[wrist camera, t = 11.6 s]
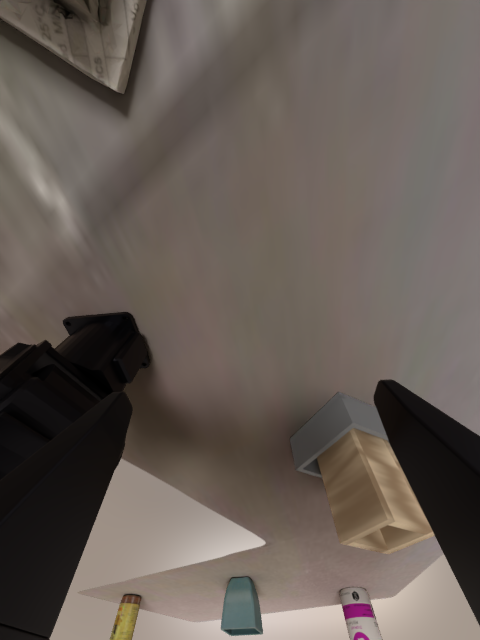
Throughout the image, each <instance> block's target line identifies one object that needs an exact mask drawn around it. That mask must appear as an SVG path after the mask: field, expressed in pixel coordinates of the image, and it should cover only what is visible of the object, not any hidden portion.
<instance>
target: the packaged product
mask: <svg viewBox="0 0 480 640" xmlns="http://www.w3.org/2000/svg"><path fill="white" fill-rule="evenodd" d="M146 2H147V0H0V18H1V19H2V20H4V21H5V22H7V23H8V24H10V25H12V26H13V27H15V28H16V29H18V30H19V31H21V32H22V33H24V34H25V35H27V36H28V37H30V38H31V39H33V40H34V41H36V42H37V43H39V44H40V45H42V46H43V47H45V48H46V49H48V50H49V51H51V52H52V53H54V54H55V55H57V56H58V57H60V58H62V59H63V60H65V61H66V62H68V63H69V64H71V65H72V66H74V67H75V68H77V69H78V70H80V71H81V72H83V73H84V74H86V75H87V76H89V77H90V78H92V79H94V80H96V81H98V82H99V83H101V84H103V85H105V86H107V87H109V88H111V89H113V90H114V91H116V92H119V93H122V94H124V92H125V89H126V86H127V83H128V78H129V74H130V70H131V65H132V61H133V57H134V53H135V48H136V44H137V40H138V36H139V31H140V27H141V22H142V17H143V14H144V10H145V6H146Z"/></svg>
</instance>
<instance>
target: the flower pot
mask: <svg viewBox="0 0 480 640" xmlns="http://www.w3.org/2000/svg"><path fill="white" fill-rule="evenodd" d="M221 630H223V631H224V632H226V633H227V634H229V635H231V636H238V635H257V634H263V629H262V620H261V612H260V605H259V600H258V596H257V592H256V589H255V586H254V584H253V582H252V581H251V579H250V578H249V577H242V578H232V579H231V580H230V583H229V585H228V587H227V590H226V594H225V598H224V605H223V613H222V622H221Z"/></svg>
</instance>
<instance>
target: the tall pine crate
mask: <svg viewBox="0 0 480 640" xmlns="http://www.w3.org/2000/svg"><path fill="white" fill-rule="evenodd" d="M317 460H318V464H319V467H320V471H321V475H322V479H323V482H324V486H325V490H326V493H327V497H328V501H329V505H330V508H331V512H332V516H333V519H334V523H335V527H336V531H337V534H338V538H339V542H340V544H345V545H349V546H354V547H358V548H363V549H367V550H371V551H376V552H380V553H385V554H390V553H393V552H395V551H398V550H400V549H403V548H405V547H408V546H410V545H413V544H415V543H418V542H420V541H422V540H425V539H427V538H430V537H432V536H435V535H434V533H433V531H432V529H431V527H430V525H429V523H428V521H427V519H426V517H425V515H424V513H423V510H422V508H421V506H420V504H419V502H418V500H417V498H416V496H415V494H414V492H413V490H412V488H411V486H410V484H409V482H408V480H407V478H406V476H405V474H404V472H403V470H402V468H401V466H400V464H399V462H398V460H397V458H396V456H395V454H394V452H393V450H392V448H391V446H390V444H389V442H388V441H387V440H385V439H382V438H380V437H377V436H374V435H372V434H369V433H366V432H364V431H361V430H358V429H355V428H353V429H351V430H350V431H349V432H348V433H346V434H345V435H344V436H343V437H341V438H340V439H339V440H338V441H337V442H335V443H334V444H333V445H332V446H330V447H329V448H328V449H327V450H325V451H324V452H323V453H322V454H321V455H319V456H318V457H317Z"/></svg>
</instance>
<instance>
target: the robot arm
mask: <svg viewBox="0 0 480 640" xmlns="http://www.w3.org/2000/svg"><path fill="white" fill-rule="evenodd" d="M124 316H125V317H127V318H128V319H126V318H125V317H124ZM69 322H70V323H69ZM63 325H64V326H65V328H66V330H67V331H68V333H69V335H70V336H68V337H67V338H66V339H65V340H64V341H63V342H62V343H60V344H59V345H58V346H57V347H56V348H55V349H54V348H53V347H51V346H52V345H51V344H50V343H49V342H48V341H47V340H44V341H42V342H41V343H39V344H37V345H35V344H34V345H27V344H22V343H17V344H16V345H14V346H12V347H11V348H9V349H8V350H7V351H5V352H4V353H2V354H1V355H0V640H49V638H50V636H51V634H52V632H53V629H54V626H55V624H56V621H57V619H58V616H59V613H60V610H61V608H62V606H63V603H64V600H65V598H66V595H67V593H68V590H69V587H70V585H71V582H72V580H73V577H74V574H75V572H76V569H77V566H78V564H79V561H80V558H81V556H82V553H83V551H84V548H85V546H86V543H87V540H88V538H89V535H90V532H91V530H92V527H93V525H94V522H95V520H96V517H97V514H98V511H99V509H100V507H101V504H102V501H103V499H104V496H105V494H106V491H107V488H108V486H109V483H110V481H111V478H112V475H113V473H114V470H115V469H116V467H117V465H118V464H119V461H120V459H121V457H122V453H123V450H124V447H125V438H126V433H127V429H128V426H129V422H130V419H131V415H132V405H131V403H130V401H129V398H128V396H127V394H126V393H125V392H123V389H124V388H125V386H126V384H127V383H131V382H132V380H133V379H134V377H135V375H136V373H137V371H138V370H139V368H147V367H148V366H149V364H150V360H149V358H148V355H147V354H148V352H147V350H146V347H145V345H144V342H143V340H142V337H141V334H140V333H139V332H138V330H137V327H136V325H135V322H134V320H133V317H132V315H131V314H130V313H128V312H119V313H108V314H97V315H86V316H75V317H67V318H66V319H64V320H63ZM143 362H144V363H143ZM145 363H146V364H145ZM374 403H375V406H376V408H377V411H378V414H379V416H380V419H381V422H382V424H383V427H384V430H385V432H386V435H387V438H388V440H389V443H390V445H391V448H392V450H393V452H394V454H395V456H396V458H397V460H398V462H399V464H400V466H401V468H402V470H403V472H404V474H405V476H406V478H407V480H408V482H409V484H410V486H411V488H412V490H413V492H414V494H415V496H416V498H417V500H418V502H419V504H420V506H421V508H422V510H423V513H424V515H425V517H426V519H427V521H428V523H429V525H430V527H431V529H432V531H433V533H434V535H435V537H436V539H437V541H438V543H439V545H440V547H441V549H442V551H443V553H444V555H445V557H446V559H447V561H448V563H449V565H450V567H451V569H452V571H453V573H454V575H455V577H456V579H457V581H458V583H459V585H460V587H461V589H462V591H463V593H464V595H465V597H466V599H467V601H468V603H469V605H470V607H471V609H472V611H473V613H474V615H475V617H476V619H477V621H478V623H479V625H480V436H479V435H477V434H476V433H474V432H472V431H471V430H469V429H468V428H466V427H465V426H463V425H462V424H460V423H459V422H457V421H456V420H454V419H453V418H451V417H449V416H448V415H446V414H445V413H443V412H442V411H440V410H439V409H437V408H436V407H434V406H433V405H431V404H430V403H428V402H426V401H425V400H423V399H422V398H420V397H419V396H417V395H416V394H414V393H413V392H411V391H410V390H408V389H407V388H405V387H404V386H402V385H400V384H399V383H397V382H396V381H394V380H380V381H379V382H378V384H377V387H376V391H375V394H374Z"/></svg>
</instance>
